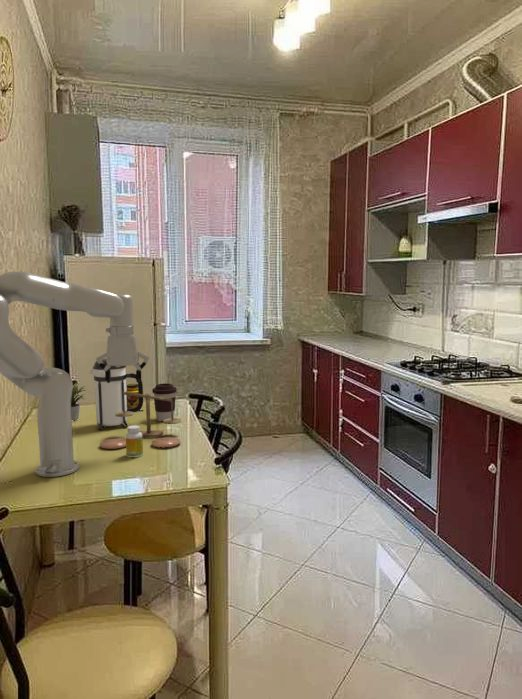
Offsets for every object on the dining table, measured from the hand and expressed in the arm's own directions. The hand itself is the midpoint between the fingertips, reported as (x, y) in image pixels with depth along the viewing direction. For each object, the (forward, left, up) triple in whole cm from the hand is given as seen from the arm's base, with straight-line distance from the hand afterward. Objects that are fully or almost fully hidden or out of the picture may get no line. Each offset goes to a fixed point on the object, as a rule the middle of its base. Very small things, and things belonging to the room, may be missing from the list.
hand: (123, 381), depth 178 cm
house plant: (+43, +31, -24) cm, 58 cm away
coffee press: (+33, +11, -24) cm, 42 cm away
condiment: (+60, +9, -24) cm, 65 cm away
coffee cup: (+41, -8, -24) cm, 48 cm away
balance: (+17, -5, -24) cm, 30 cm away
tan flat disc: (+5, -13, -24) cm, 27 cm away
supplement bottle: (-6, -4, -24) cm, 25 cm away
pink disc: (+5, +5, -24) cm, 25 cm away
